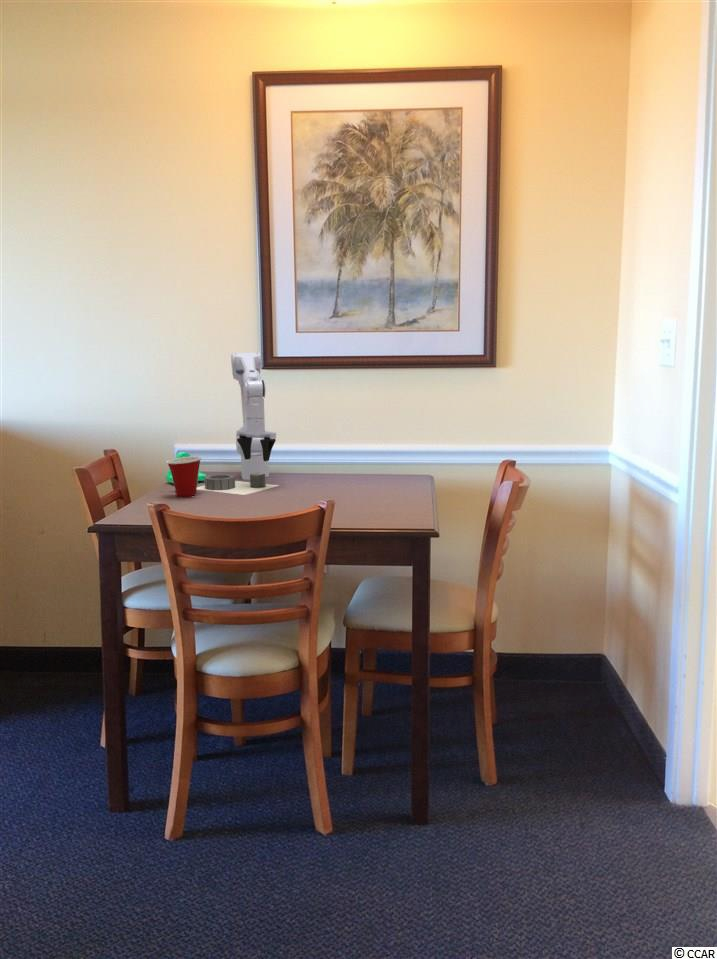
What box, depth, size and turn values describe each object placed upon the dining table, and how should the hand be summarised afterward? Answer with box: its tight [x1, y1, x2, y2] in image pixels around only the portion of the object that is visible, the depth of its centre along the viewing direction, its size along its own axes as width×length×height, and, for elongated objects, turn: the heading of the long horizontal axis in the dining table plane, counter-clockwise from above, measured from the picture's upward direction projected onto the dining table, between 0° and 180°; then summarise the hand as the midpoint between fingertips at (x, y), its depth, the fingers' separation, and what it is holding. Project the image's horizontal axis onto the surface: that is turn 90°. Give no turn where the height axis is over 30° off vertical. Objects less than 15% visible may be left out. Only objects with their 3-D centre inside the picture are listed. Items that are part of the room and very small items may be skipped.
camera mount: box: [165, 451, 208, 484], centre depth 296 cm, size 12×8×10 cm, turn 123°
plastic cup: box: [166, 456, 202, 498], centre depth 273 cm, size 11×11×12 cm
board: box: [196, 473, 281, 496], centre depth 283 cm, size 18×22×4 cm
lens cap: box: [249, 473, 267, 488], centre depth 283 cm, size 5×5×4 cm
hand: (257, 460), depth 282 cm, fingers open, 7 cm apart
